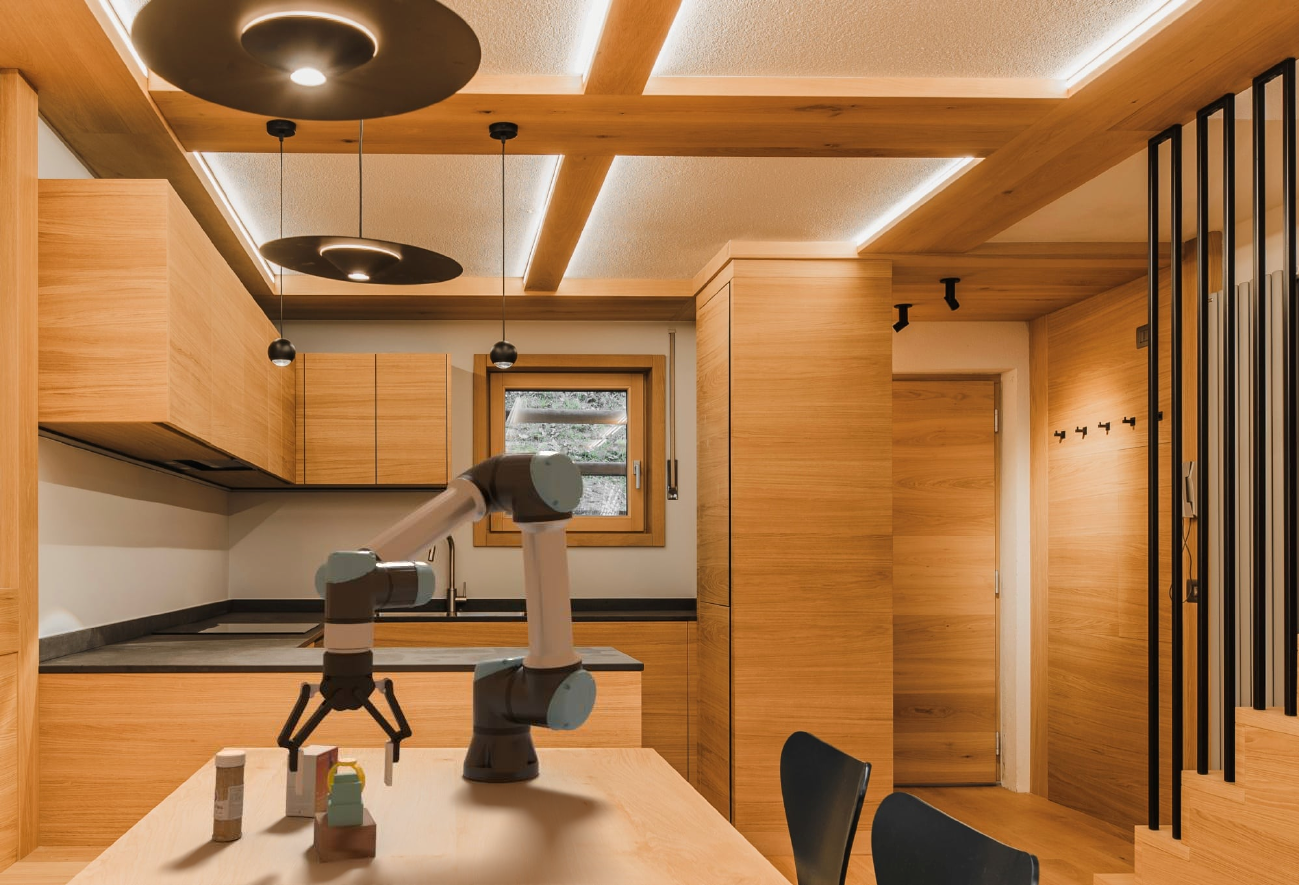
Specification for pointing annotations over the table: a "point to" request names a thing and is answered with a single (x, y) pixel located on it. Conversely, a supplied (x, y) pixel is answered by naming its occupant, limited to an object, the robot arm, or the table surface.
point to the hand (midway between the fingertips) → (344, 788)
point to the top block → (345, 801)
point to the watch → (346, 762)
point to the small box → (311, 781)
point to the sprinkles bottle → (229, 795)
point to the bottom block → (344, 839)
